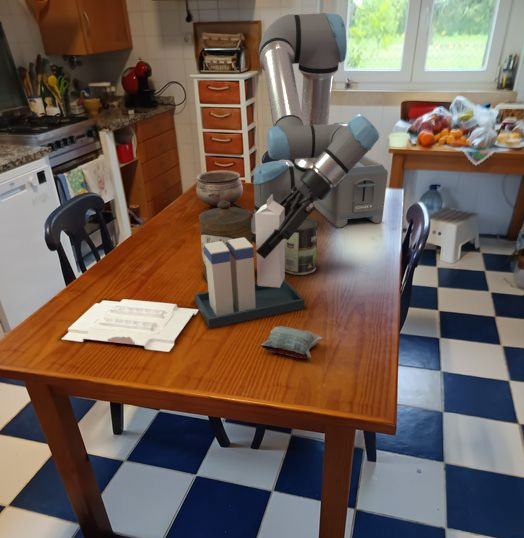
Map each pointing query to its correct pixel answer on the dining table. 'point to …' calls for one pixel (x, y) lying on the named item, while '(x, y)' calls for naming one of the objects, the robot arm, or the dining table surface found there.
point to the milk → (274, 263)
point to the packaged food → (291, 341)
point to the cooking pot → (219, 187)
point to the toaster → (357, 194)
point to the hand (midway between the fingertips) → (257, 248)
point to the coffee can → (302, 249)
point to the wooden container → (224, 226)
